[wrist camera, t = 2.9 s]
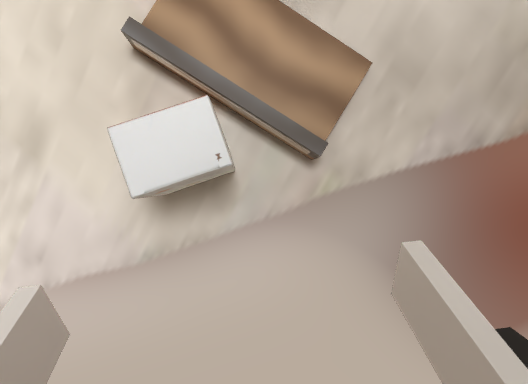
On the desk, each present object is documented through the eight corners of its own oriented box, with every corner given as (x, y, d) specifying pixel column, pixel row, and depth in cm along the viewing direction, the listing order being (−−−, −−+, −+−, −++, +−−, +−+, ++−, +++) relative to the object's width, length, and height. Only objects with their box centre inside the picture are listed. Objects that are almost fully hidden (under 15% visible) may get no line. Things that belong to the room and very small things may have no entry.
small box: (218, 121, 34) (210, 91, 23) (236, 171, 34) (235, 164, 24) (145, 145, 33) (103, 125, 23) (163, 196, 34) (130, 199, 23)
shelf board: (194, -49, 34) (189, -78, 30) (367, 67, 35) (383, 52, 31) (132, 49, 33) (119, 31, 29) (311, 161, 35) (319, 157, 31)
